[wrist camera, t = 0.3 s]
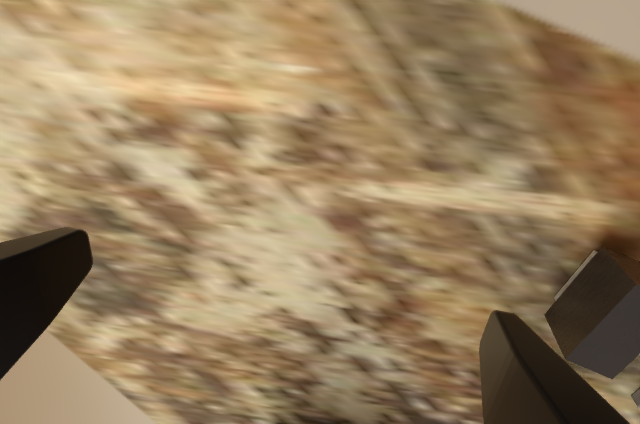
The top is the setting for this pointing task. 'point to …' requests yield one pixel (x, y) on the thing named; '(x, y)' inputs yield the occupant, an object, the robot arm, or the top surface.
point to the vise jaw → (600, 314)
